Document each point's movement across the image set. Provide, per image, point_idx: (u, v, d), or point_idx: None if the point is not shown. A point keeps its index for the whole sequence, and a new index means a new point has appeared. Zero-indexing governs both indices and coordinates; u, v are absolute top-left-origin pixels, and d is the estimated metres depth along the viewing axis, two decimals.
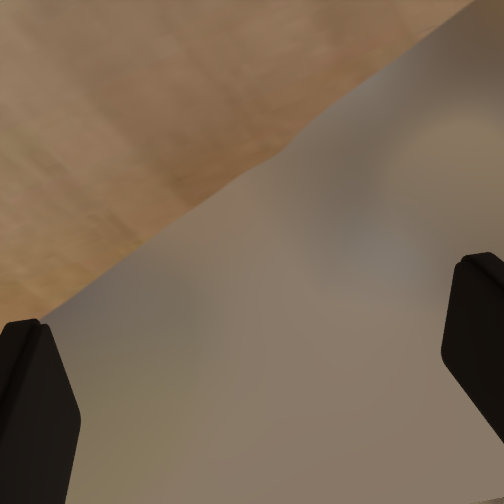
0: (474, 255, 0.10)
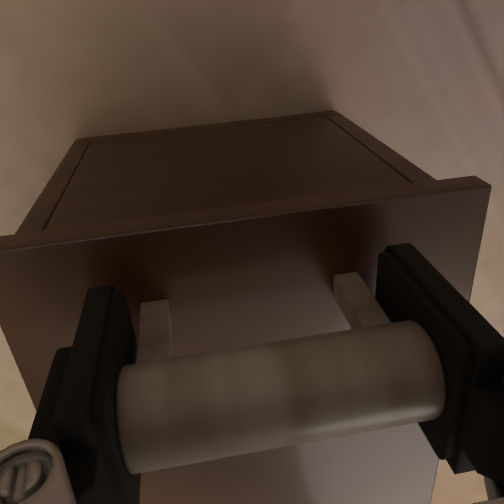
0: (394, 245, 0.11)
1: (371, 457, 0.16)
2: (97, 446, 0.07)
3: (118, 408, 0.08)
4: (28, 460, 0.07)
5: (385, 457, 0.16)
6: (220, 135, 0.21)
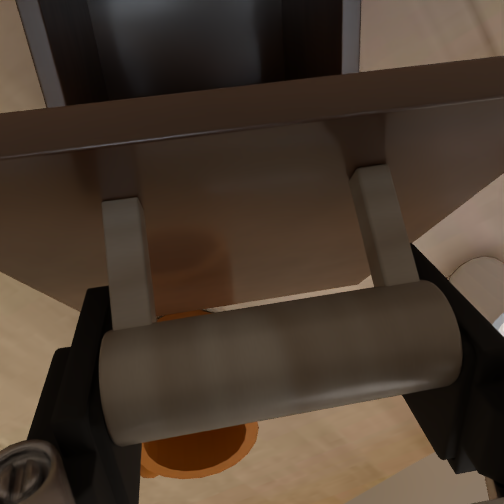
0: None
1: (338, 257, 0.17)
2: (96, 447, 0.07)
3: (108, 422, 0.07)
4: (26, 461, 0.07)
5: (351, 256, 0.17)
6: None
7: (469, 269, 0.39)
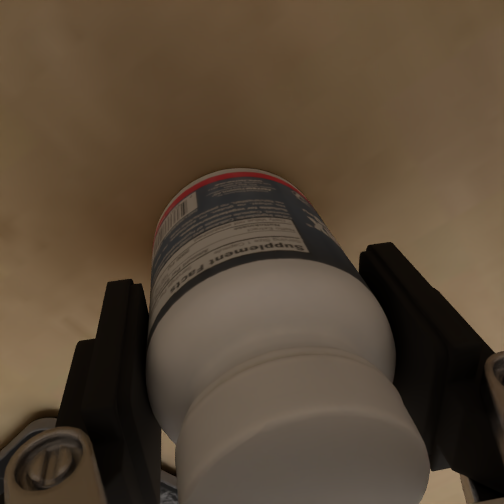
0: (375, 245, 0.11)
1: None
2: (123, 434, 0.08)
3: None
4: (60, 447, 0.07)
5: None
6: None
7: None
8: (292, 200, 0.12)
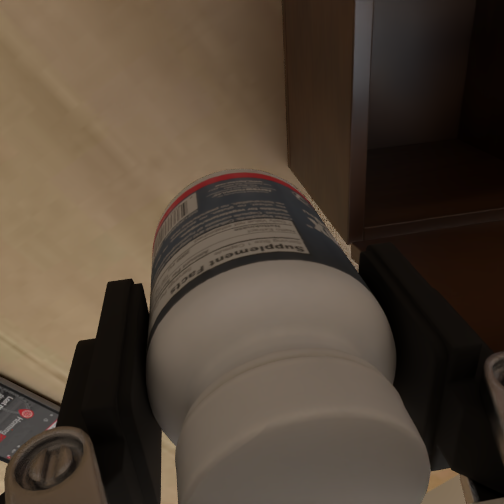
0: (375, 245, 0.11)
1: None
2: (124, 434, 0.08)
3: None
4: (60, 446, 0.07)
5: None
6: None
7: None
8: (292, 201, 0.12)
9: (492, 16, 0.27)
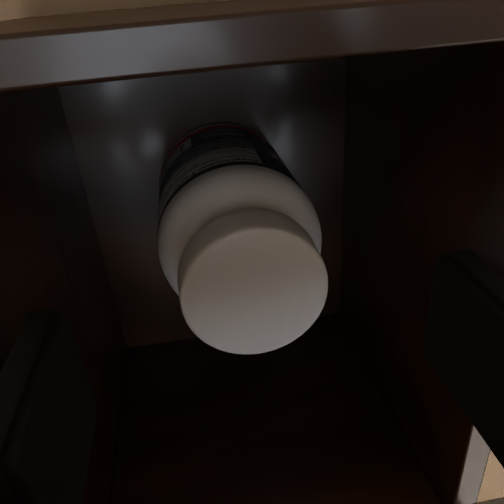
0: (453, 251, 0.10)
1: None
2: (12, 496, 0.07)
3: None
4: None
5: None
6: None
7: None
8: (258, 141, 0.17)
9: (358, 191, 0.19)
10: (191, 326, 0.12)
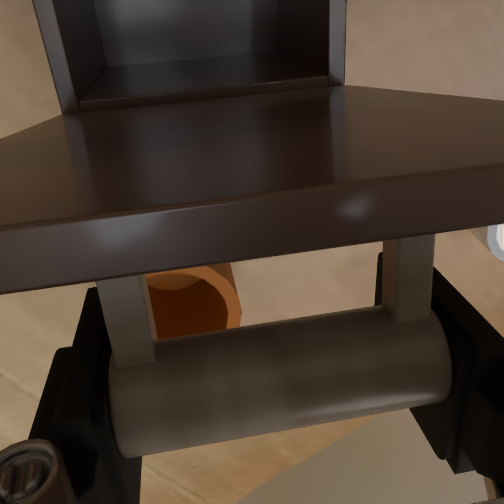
0: None
1: None
2: (97, 446, 0.07)
3: None
4: (28, 460, 0.07)
5: None
6: None
7: None
8: None
9: None
10: None
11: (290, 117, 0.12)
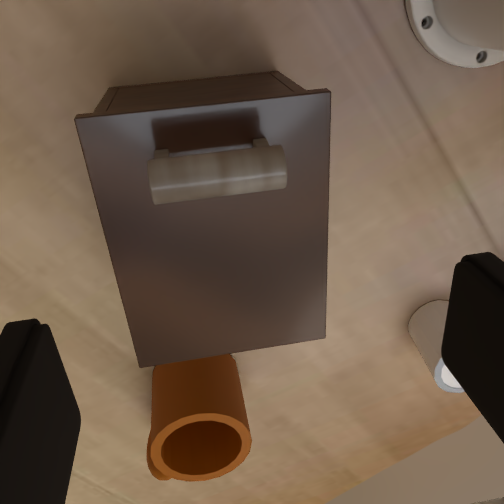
0: (474, 255, 0.10)
1: (285, 262, 0.28)
2: None
3: (148, 168, 0.20)
4: None
5: (294, 263, 0.28)
6: (201, 83, 0.33)
7: (426, 311, 0.48)
8: None
9: None
10: None
11: None
